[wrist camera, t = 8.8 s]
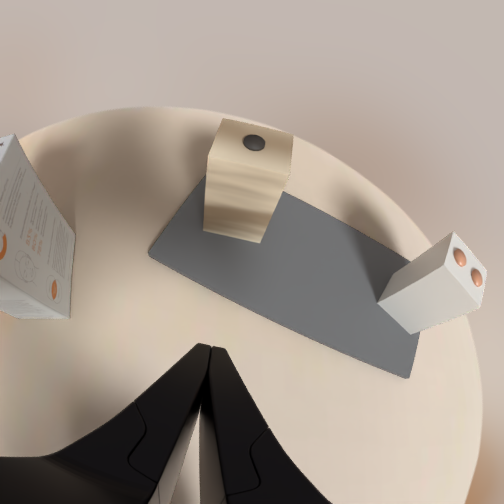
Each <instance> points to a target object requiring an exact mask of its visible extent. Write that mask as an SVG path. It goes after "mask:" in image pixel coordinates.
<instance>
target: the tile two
mask: <svg viewBox="0 0 504 504" xmlns="http://www.w3.org/2000/svg"><path fill="white" fill-rule="evenodd" d="M486 276H487V271H486V269H485V268H484V267H483V265H482V264H481V263H480V261H479V260H478V259H477V258H476V257H475V255H474V254H473V253H472V252H471V251H470V249H469V248H468V247H467V246H466V245H465V243H464V242H463V241H462V240H461V239H460V238H459V237H458V235H457V234H456V233H455V232H454V231H453V232H451V233H450V234H449V235H448V236H446V237H445V238H444V239H442V240H441V241H439V242H438V243H437V244H435V245H434V246H433V247H431V248H430V249H428V250H427V251H426V252H424V253H423V254H421V255H420V256H419V257H417V258H416V259H414V260H413V261H411V262H410V263H409V264H407V265H406V266H404V267H403V268H401V269H400V270H398V271H397V272H395V273H394V274H393V275H392V277H391V279H390V281H389V282H388V284H387V286H386V288H385V290H384V292H383V293H382V295H381V297H380V299H379V301H378V302H377V304H378V305H380V306H381V307H382V308H383V309H384V310H385V311H386V312H387V313H388V314H389V315H390V316H391V317H392V318H393V319H394V320H396V321H397V322H398V323H399V324H400V325H401V326H402V327H403V328H404V329H405V330H406V331H407V332H408V333H409V334H410V335H411V334H414V333H417V332H420V331H423V330H425V329H428V328H431V327H434V326H437V325H439V324H442V323H445V322H447V321H450V320H452V319H455V318H457V317H460V316H462V315H465V314H467V313H470V312H472V311H474V310H477V309H479V308H480V307H481V302H482V298H483V293H484V288H485V282H486Z"/></svg>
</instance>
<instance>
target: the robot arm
mask: <svg viewBox="0 0 504 504" xmlns="http://www.w3.org/2000/svg"><path fill="white" fill-rule="evenodd" d="M200 406H201V407H200ZM199 411H200V419H199V475H200V504H332V503H331V502H330V501H328V500H327V499H326V498H325V497H324V496H323V495H322V494H321V493H320V492H319V491H318V489H317V488H316V487H315V486H314V485H313V484H312V483H311V482H310V481H309V480H308V479H307V477H306V476H305V475H304V474H303V473H302V472H301V471H300V470H299V468H298V467H297V466H296V465H295V464H294V462H293V461H292V460H291V459H290V457H289V456H288V455H287V454H286V452H285V451H284V450H283V448H282V447H281V445H280V444H279V442H278V441H277V439H276V438H275V436H274V434H273V433H272V431H271V429H270V428H268V427H269V426H268V424H267V423H266V421H265V419H264V418H263V416H262V414H261V413H260V411H259V409H258V407H257V406H256V404H255V402H254V400H253V399H252V397H251V395H250V393H249V392H248V390H247V388H246V386H245V384H244V383H243V381H242V379H241V377H240V375H239V373H238V371H237V370H236V368H235V366H234V364H233V362H232V360H231V358H230V356H229V355H228V353H227V351H226V349H225V348H221V347H216V346H213V347H212V348H211V346H210V345H206V344H201V343H198V344H196V345H195V346H194V347H193V348H192V349H191V350H190V351H189V352H188V353H187V354H185V355H184V356H183V357H182V358H181V359H180V360H179V361H178V362H177V363H176V364H174V365H173V366H172V367H171V368H170V369H169V370H168V371H167V372H166V373H165V374H163V375H162V376H161V377H160V378H159V379H158V380H157V381H156V382H154V383H153V384H152V385H151V386H150V387H149V388H148V389H147V390H146V391H144V392H143V393H142V394H141V395H140V396H139V397H138V398H136V399H135V400H134V402H132V403H131V404H129V405H128V406H127V407H126V408H125V409H124V410H122V411H121V412H120V413H119V414H117V415H116V416H115V417H114V418H112V419H111V420H109V421H108V422H106V423H105V424H103V425H102V426H100V427H99V428H97V429H96V430H94V431H92V432H91V433H89V434H87V435H86V436H84V437H82V438H81V439H79V440H77V441H76V442H74V443H72V444H70V445H69V446H67V447H65V448H63V449H62V450H60V451H58V452H55V453H53V454H49V455H46V456H40V457H0V504H170V502H171V499H172V496H173V492H174V489H175V486H176V483H177V480H178V477H179V474H180V471H181V468H182V465H183V461H184V458H185V455H186V452H187V449H188V446H189V443H190V440H191V437H192V434H193V431H194V427H195V424H196V421H197V418H198V415H199Z"/></svg>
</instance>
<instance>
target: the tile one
mask: <svg viewBox="0 0 504 504" xmlns="http://www.w3.org/2000/svg"><path fill="white" fill-rule="evenodd" d="M292 146H293V135H292V134H289V133H285V132H281V131H277V130H273V129H269V128H265V127H261V126H257V125H253V124H248V123H244V122H239V121H234V120H229V119H224V118H223V119H222V122H221V124H220V127H219V129H218V132H217V134H216V137H215V139H214V142H213V144H212V147H211V149H210V152H209V155H208V161H207V173H206V187H205V203H204V220H203V231H206V232H211V233H215V234H220V235H225V236H229V237H234V238H238V239H243V240H247V241H251V242H256V243H260V242H261V240H262V237H263V235H264V233H265V231H266V228H267V226H268V224H269V221H270V219H271V217H272V215H273V212H274V210H275V208H276V206H277V203H278V201H279V199H280V196H281V194H282V192H283V190H284V187H285V185H286V183H287V180H288V178H289V176H290V168H291V157H292Z"/></svg>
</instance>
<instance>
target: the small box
mask: <svg viewBox="0 0 504 504" xmlns="http://www.w3.org/2000/svg"><path fill="white" fill-rule="evenodd" d="M75 237H76V234H75V233H74V232H73V230H72V229H71V228H70V226H69V225H68V223H67V222H66V220H65V219H64V217H63V216H62V215H61V213H60V212H59V210H58V209H57V207H56V205H55V204H54V202H53V201H52V199H51V198H50V196H49V195H48V193H47V191H46V190H45V188H44V186H43V185H42V183H41V181H40V180H39V178H38V176H37V174H36V173H35V171H34V169H33V167H32V166H31V164H30V162H29V160H28V158H27V156H26V155H25V153H24V151H23V149H22V147H21V145H20V143H19V141H18V139H17V137H16V135H15V134H12V135H8V136H5V137H2V138H0V310H1V311H3V312H5V313H7V314H9V315H11V316H13V317H15V318H23V319H69V318H70V294H71V277H72V265H73V254H74V245H75Z"/></svg>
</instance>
